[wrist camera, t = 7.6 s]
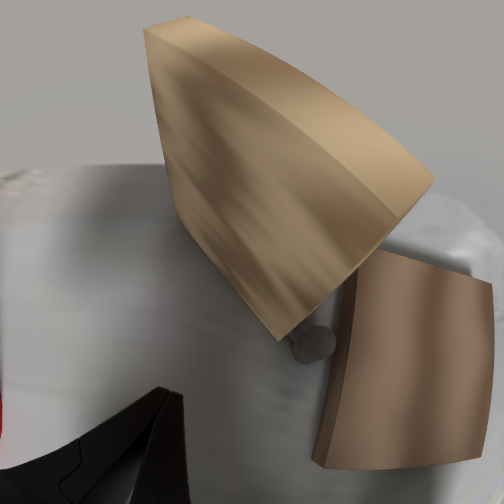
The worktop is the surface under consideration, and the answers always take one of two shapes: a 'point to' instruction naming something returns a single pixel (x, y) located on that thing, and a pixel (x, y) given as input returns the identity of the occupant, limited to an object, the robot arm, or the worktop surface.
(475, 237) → the worktop surface
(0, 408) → the kitchen timer
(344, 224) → the light wooden board
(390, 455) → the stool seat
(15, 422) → the worktop surface
